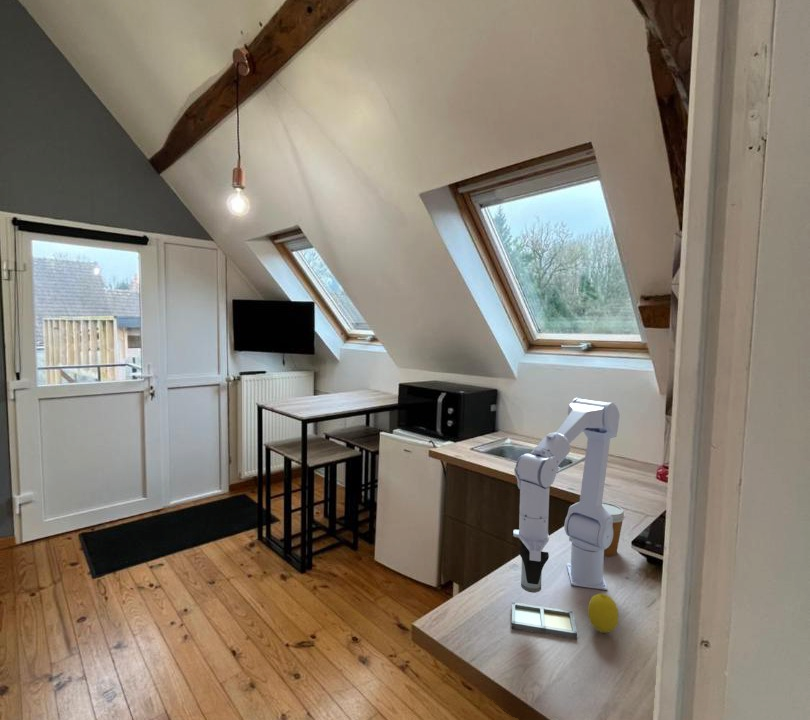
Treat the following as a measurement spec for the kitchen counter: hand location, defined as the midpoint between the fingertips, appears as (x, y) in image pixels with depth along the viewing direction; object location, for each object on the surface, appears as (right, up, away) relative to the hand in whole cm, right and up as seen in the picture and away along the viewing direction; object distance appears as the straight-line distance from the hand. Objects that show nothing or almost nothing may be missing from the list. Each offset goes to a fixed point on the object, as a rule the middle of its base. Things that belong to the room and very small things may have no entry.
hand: (532, 576), depth 90 cm
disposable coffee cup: (+29, -8, +30) cm, 42 cm away
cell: (0, -2, 0) cm, 2 cm away
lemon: (+13, -10, -3) cm, 17 cm away
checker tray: (+2, -10, 0) cm, 10 cm away
